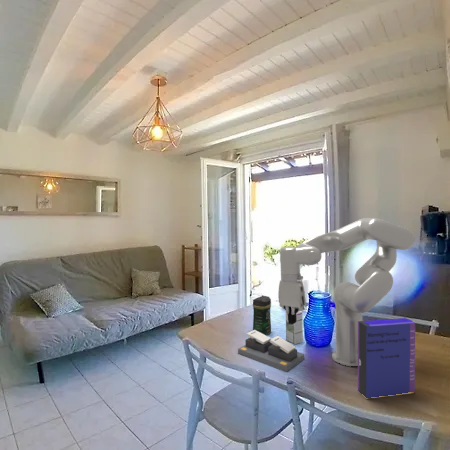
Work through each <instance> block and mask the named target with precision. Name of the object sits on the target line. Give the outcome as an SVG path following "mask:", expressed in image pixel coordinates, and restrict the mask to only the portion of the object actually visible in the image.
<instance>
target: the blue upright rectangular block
mask: <svg viewBox="0 0 450 450" xmlns="http://www.w3.org/2000/svg"><path fill="white" fill-rule="evenodd" d="M358 391H359V392H360V393H361V394H363V395H364V396H365V397H366V398H371V397H379V396H388V395H396V394H402V393H408V392H416V322H414V321H413V320H411V319H410V318H409V319H408V318H406V317H402V318H401V317H400V318H388V319H387V318H386V319H385V318H384V319H375V320H374V319H372V320H361V321H358V367H357V392H358ZM359 392H358V393H359ZM360 393H359V394H360ZM361 394H360V395H361Z"/></svg>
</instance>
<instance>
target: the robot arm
mask: <svg viewBox="0 0 450 450" xmlns="http://www.w3.org/2000/svg"><path fill="white" fill-rule="evenodd" d="M367 240H373V241H376V250H375V252H374V254H373V255H371V257H370V258H369V259H368V260H367V261H365V262H364V263H363V265H361V266H360V267H359V268H358V269H357V270H356V272H355V274H354V280H355V282H356V283H357V284H358V285H357V284H354V283H352V282H349V281H343V282H340V283H338V284H337V285H336V287H335V288H334V291H333V292H334V293H333V299H334V305H335V333H336V334H335V335H336V336H335V337H336V338H335V346H336V347H335V351H334V352H333V353H332V354H331V357H332V360H333V361H334V362H336V363H337V364H339V363H340V365H342V366H345V365H346V367H351V366H358V321H362V314H364V313H368V312H369V311H370V310H372V308H374V307H375V306H376V305H378V303H379V302H380V301H382V299H383V298H385V296H386V295H388V294H389V293H390V291H391V289H393V285H394V277H393V275H392V273H391V272H390V271H391V270H392V269H394V266H395V265H396V263H397V256H398V255H397V254H398V253H397V250H400V251H405V250H409V249H410V248H412V247H413V246H414V244H415V240H416V236H415V234H414V233H413V231H412V230H410V229H409V228H407V227H405V226H402V225H399V224H396V223H394V222H390V221H388V220H385V219H382V218H378V217H363V218H360V219H357V220H356V221H353V222H350V223H349V224H347V225H344V226H342V227H340V228H337V229H335V230H332V231H329V232H326V233H324V234H321V235H317V236H314V237H312V238H310V239H308V240H305V241H303V242H301V243H299V244H298V245H296V246H293V245H292V246H291V245H290V246H287V245H286V246H282V247H281V248H280V250H279V259H280V260H279V261H280V262H279V263H280V280H279V284H278V297H277V298H278V305H279V307H281V308H282V309H284V310H285V314H286V313H287V314H288V323H289V324H292V325H293V324H294V323H296V313H297V312H298V311H302V312H304V311H305V306H306V305H307V304H306V303H307V302H306V291H305V286H304V282H303V281H302V280H303V279H304V276H303V275H301V266H302V265H304V266H305V265H306V266H313V265H317V264H318V263H320V261H321V260H322V254H324V253H329V252H340V251H345V250H347V249H349V248H352V247H353V246H355V245H358V244H360V243H362V242H364V241H367Z"/></svg>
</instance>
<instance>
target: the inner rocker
mask: <svg viewBox="0 0 450 450" xmlns="http://www.w3.org/2000/svg"><path fill="white" fill-rule="evenodd" d="M270 342H271V343H272V344H274V345H275V346H279V347H280V349H281V350H283V351H285V352H286V353H288V354H289V353H290V352H292V351H293V350H295V349H297V347H296V346H295V344H293V343H291V342H287V340H286V339H284V338H282V337H281V336H278V335H277V336H274V337H273V338H271V339H270Z"/></svg>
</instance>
